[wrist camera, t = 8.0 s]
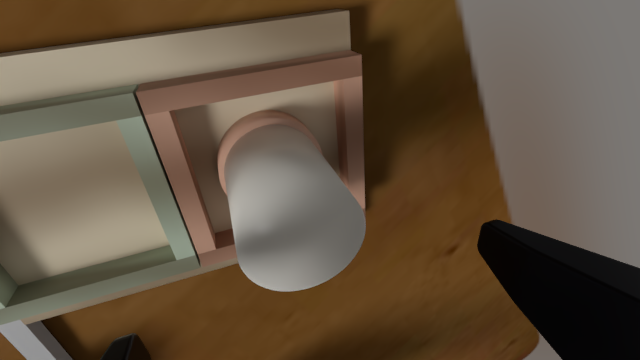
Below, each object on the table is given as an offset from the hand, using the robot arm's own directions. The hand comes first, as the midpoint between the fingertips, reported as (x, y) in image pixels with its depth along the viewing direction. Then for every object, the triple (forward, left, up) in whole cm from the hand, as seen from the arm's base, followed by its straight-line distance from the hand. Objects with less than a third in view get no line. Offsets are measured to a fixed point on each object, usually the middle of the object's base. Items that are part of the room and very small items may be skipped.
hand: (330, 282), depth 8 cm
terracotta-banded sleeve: (0, 0, -8) cm, 8 cm away
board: (0, +4, -9) cm, 10 cm away
